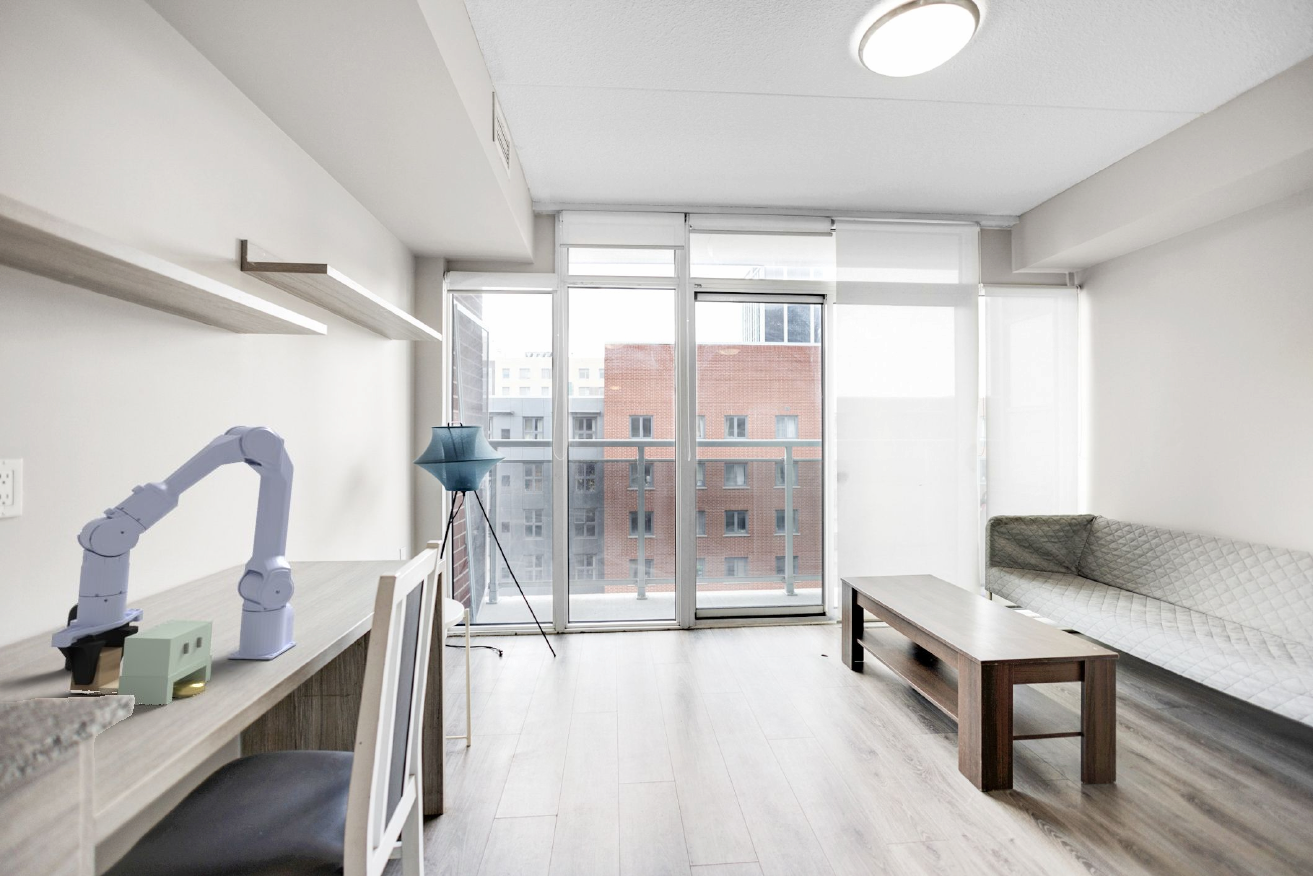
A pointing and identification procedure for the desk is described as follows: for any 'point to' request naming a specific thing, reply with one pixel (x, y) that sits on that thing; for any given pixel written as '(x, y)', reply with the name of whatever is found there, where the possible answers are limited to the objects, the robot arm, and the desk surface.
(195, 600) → the desk surface
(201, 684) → the disc
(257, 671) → the desk surface
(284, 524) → the robot arm
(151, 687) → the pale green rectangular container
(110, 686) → the wooden rectangular block
